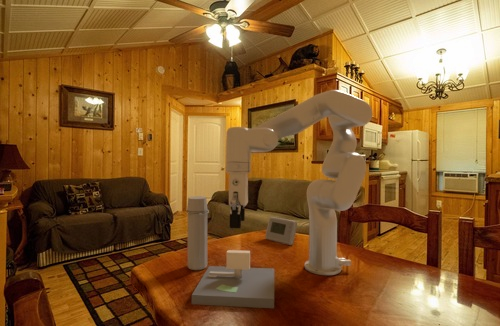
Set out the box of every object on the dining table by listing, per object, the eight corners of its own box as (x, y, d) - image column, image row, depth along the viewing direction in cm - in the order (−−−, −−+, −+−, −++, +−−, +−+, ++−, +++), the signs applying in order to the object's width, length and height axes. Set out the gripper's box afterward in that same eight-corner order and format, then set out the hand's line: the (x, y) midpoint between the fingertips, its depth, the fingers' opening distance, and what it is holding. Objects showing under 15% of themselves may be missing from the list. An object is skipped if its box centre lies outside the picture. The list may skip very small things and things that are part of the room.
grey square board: (274, 276, 92) (274, 268, 92) (274, 308, 72) (274, 298, 72) (209, 273, 94) (209, 265, 94) (191, 304, 74) (191, 294, 74)
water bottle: (184, 265, 102) (184, 196, 101) (205, 262, 105) (205, 195, 104) (189, 275, 93) (189, 200, 93) (212, 271, 96) (212, 199, 96)
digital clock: (263, 238, 135) (263, 217, 135) (277, 236, 140) (277, 215, 140) (286, 247, 122) (286, 223, 122) (300, 244, 127) (300, 221, 127)
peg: (250, 276, 86) (250, 250, 86) (249, 279, 84) (249, 253, 84) (210, 274, 87) (210, 249, 87) (208, 277, 85) (208, 251, 85)
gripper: (247, 169, 76) (246, 231, 76) (252, 167, 93) (252, 218, 93) (220, 168, 77) (219, 230, 77) (230, 167, 94) (229, 217, 94)
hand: (237, 224), depth 85 cm, fingers open, 9 cm apart
